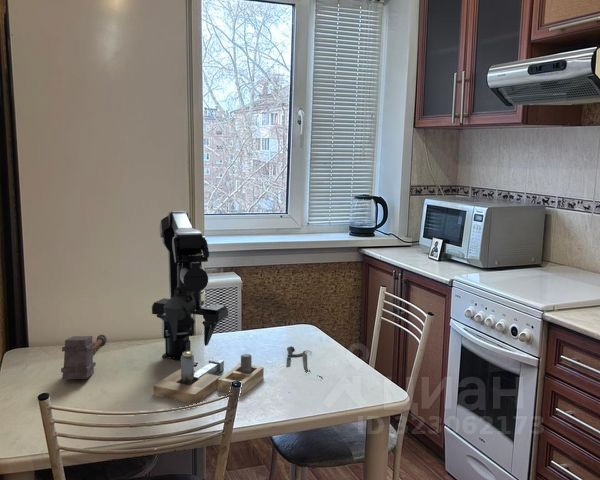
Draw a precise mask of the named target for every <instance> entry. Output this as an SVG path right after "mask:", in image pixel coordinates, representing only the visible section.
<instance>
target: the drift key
mask: <svg viewBox="0 0 600 480" xmlns="http://www.w3.org/2000/svg"><path fill="white" fill-rule="evenodd" d="M224 368H225V360H224V359H218V358H211V359H209V360H208V364H206V365H205V366H203V367H201V368H200V369H198V370H196V371H195V373H194V383H195V382H196V381H198V379H199V378H200V377H202V376H203V375H205V374H206V373H207V374H212V375H216V374H219V373H222V372H224V370H225V369H224Z"/></svg>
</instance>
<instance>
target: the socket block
mask: <svg viewBox="0 0 600 480" xmlns="http://www.w3.org/2000/svg"><path fill="white" fill-rule="evenodd" d="M195 372H196V371H195V370H194V373H195ZM220 377H221V376H220V375H216V374H215V375H212V374H207V373H206V374H205V375H203V376H202V377H200V378H199V379H198V381H196V382H195V383H193V384H192V385H185V384H181V368H180V369H179V368H178V370H176V371H175V372H173V373H171V374H170V375H168V376H166V377H165V378H163V379H161V380H160V381H158V382H157V383H155V384H153V387H152V388H153V389H152V390H153V396H157V397H160V398H161V397H162V398H166V399H169V400H173V401H174V400H175V401H179V402H184V403H189V404H192V403H196V404H197V403H199V402H200V401H202V400H203V399H204V398H205V397H207V396H208V395H209V394H211V393H212V392H213V391H215V390H217V389H218V379H219V378H220Z"/></svg>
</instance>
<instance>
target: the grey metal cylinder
mask: <svg viewBox="0 0 600 480" xmlns="http://www.w3.org/2000/svg"><path fill="white" fill-rule="evenodd" d="M191 351H192V350H191ZM191 351H184V352H183V353H182V356H181V360H180V369H181V384H185V385H192V384H193V383H194V371H195V355H194V354H193V351H192V352H191Z"/></svg>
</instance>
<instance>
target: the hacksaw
mask: <svg viewBox="0 0 600 480" xmlns="http://www.w3.org/2000/svg"><path fill="white" fill-rule="evenodd" d="M286 350H287V357H286V366H285V367H286V369H287V368H291V365H292V364H291V362H292V358H293V357H294V358H297V357H301V356H302V366H303V370H305V371H304V373H305V372H306V373H307V372H310V373H311V370H310V369H309V368H308V355H307V353H306V352H307V350H303V351H302V352H300V353H296V354H295V353H293V352H294V351H295V350H296V349H295V347H294V346H291V345H290V346H287V349H286ZM311 354H312V351H311V350H309V355H311ZM318 376H319V377H318V378H321V379H322V380H323V376H322V375H318Z"/></svg>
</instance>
